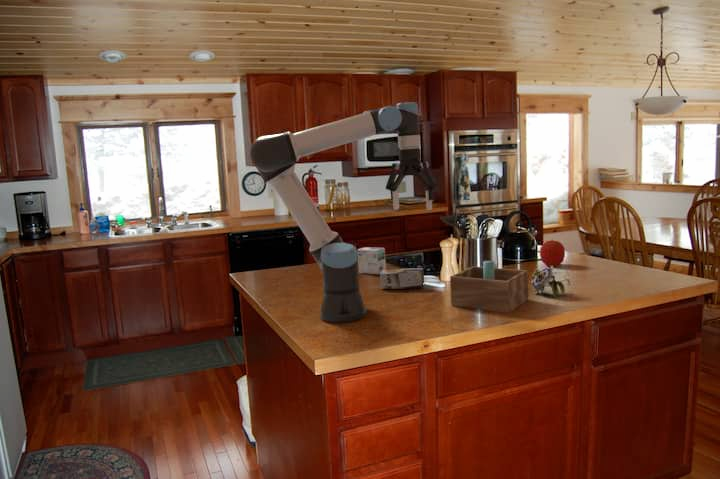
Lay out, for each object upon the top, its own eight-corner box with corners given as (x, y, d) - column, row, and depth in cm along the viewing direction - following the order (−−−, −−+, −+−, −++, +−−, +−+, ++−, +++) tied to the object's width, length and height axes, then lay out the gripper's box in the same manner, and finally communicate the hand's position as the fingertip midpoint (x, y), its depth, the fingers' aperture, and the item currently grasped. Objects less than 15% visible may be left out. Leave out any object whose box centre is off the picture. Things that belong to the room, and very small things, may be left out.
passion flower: (538, 309, 194) (522, 279, 198) (564, 299, 196) (548, 270, 201) (550, 298, 184) (533, 267, 188) (578, 288, 186) (560, 257, 191)
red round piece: (568, 267, 230) (568, 240, 229) (544, 268, 231) (544, 241, 229) (560, 262, 240) (560, 236, 239) (537, 264, 241) (536, 237, 239)
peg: (492, 304, 184) (491, 263, 182) (482, 303, 187) (481, 262, 184) (497, 301, 187) (495, 261, 185) (487, 300, 189) (485, 260, 187)
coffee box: (380, 289, 214) (422, 289, 210) (379, 273, 213) (421, 272, 209) (384, 284, 222) (424, 283, 219) (383, 268, 222) (423, 267, 218)
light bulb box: (386, 271, 246) (385, 247, 244) (379, 274, 240) (377, 250, 239) (366, 270, 252) (364, 246, 250) (358, 273, 246) (356, 249, 245)
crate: (508, 312, 174) (507, 281, 173) (451, 305, 186) (450, 276, 185) (528, 299, 187) (527, 270, 186) (473, 293, 200) (472, 266, 198)
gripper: (446, 145, 187) (449, 208, 191) (385, 150, 202) (389, 207, 206) (435, 146, 181) (438, 211, 185) (373, 150, 196) (377, 210, 200)
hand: (412, 209), depth 195 cm, fingers open, 13 cm apart
